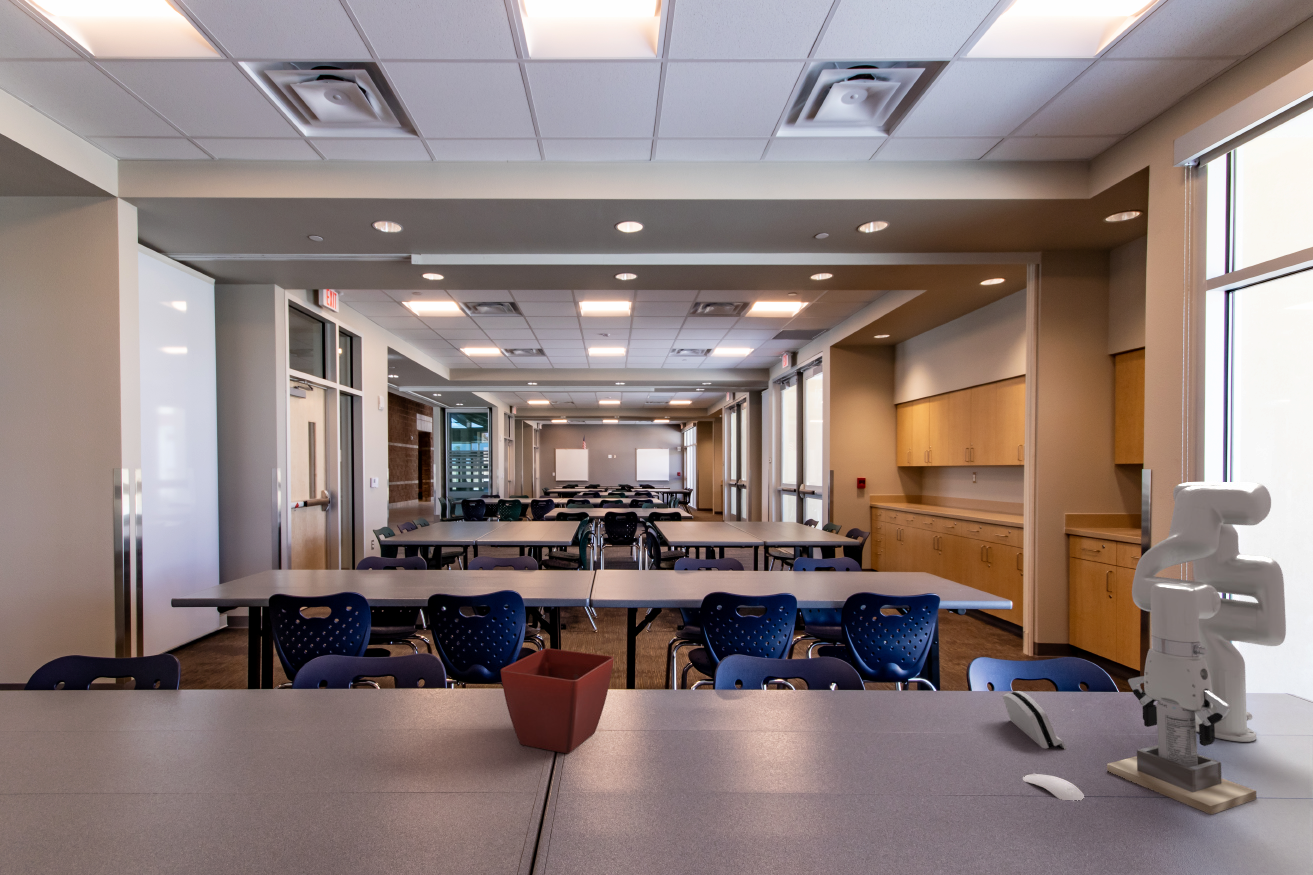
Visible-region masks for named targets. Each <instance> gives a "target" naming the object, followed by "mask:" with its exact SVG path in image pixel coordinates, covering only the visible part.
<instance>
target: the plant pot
mask: <svg viewBox="0 0 1313 875" xmlns="http://www.w3.org/2000/svg"><path fill="white" fill-rule="evenodd" d="M613 667H614V656H611V655H603V654H596V653H590V652H589V653H588V652H582V651H581V652H580V651H571V650H564V649H556V648H543V649H540V650H537V651H535V652H534V653H532V654H529V655H527V656H525V657H522V658H521V659H518V660H517V661H514V662H512V663H510V664H509V665H506V666H505V667H502V668H501V669H500V676H501V677H500V678H501V683H502V689H503V694H504V699H505V703H506V707H507V710H508V713H509V717H510V720H511V724H512V727H513V730H514V732H515V734H516V735H515V736H516V737H517V741H518V742H519V744H520V745H521V746H526V747H531V748H536V749H542V750H546V751H553V752H558V753H562V754H570V753H572V752H573V751H574V750H575V749H576V748H578V747H579V746H581V745H583V743H584V742H586V740H588V739H589V738H591V736H593V735H595V733H596V731H597V728H598V725H599V722H600V720H601V717H602V713H603V711H604V708H605V704H606V701H607V700H606V699H607V695H608V692H609V687H610V682H611V677H612V672H613Z"/></svg>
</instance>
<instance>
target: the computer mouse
mask: <svg viewBox="0 0 1313 875" xmlns="http://www.w3.org/2000/svg"><path fill="white" fill-rule="evenodd" d="M1024 776H1025V777H1024ZM1024 776H1023V777H1022V780H1023V781H1024V782H1025V783H1030V784H1034V785H1036V786H1039V787H1042V788H1044V789H1046V790H1047V791H1048V792H1050V793H1051V794H1052V795H1053V796H1054V797H1056V798H1057V799H1058V800H1061V799H1062V800H1061V801H1065V800H1073V801H1072V802H1075V801H1074V800H1077V801H1076V802H1079V801H1078V800H1080V801H1083V800H1084V799H1085V797H1084V796H1085V795H1084V793H1083V792H1082V791H1081V790H1080V789H1079V788H1078V787H1077V786H1076V785H1075V784H1074V783H1071V782H1070V781H1068V780H1066V779H1063V778H1060V777H1058V776H1055V775H1048V774H1041V773H1040V774H1038V773H1031V774H1027V775H1024ZM1083 798H1084V799H1083ZM1082 799H1083V800H1082Z"/></svg>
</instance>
